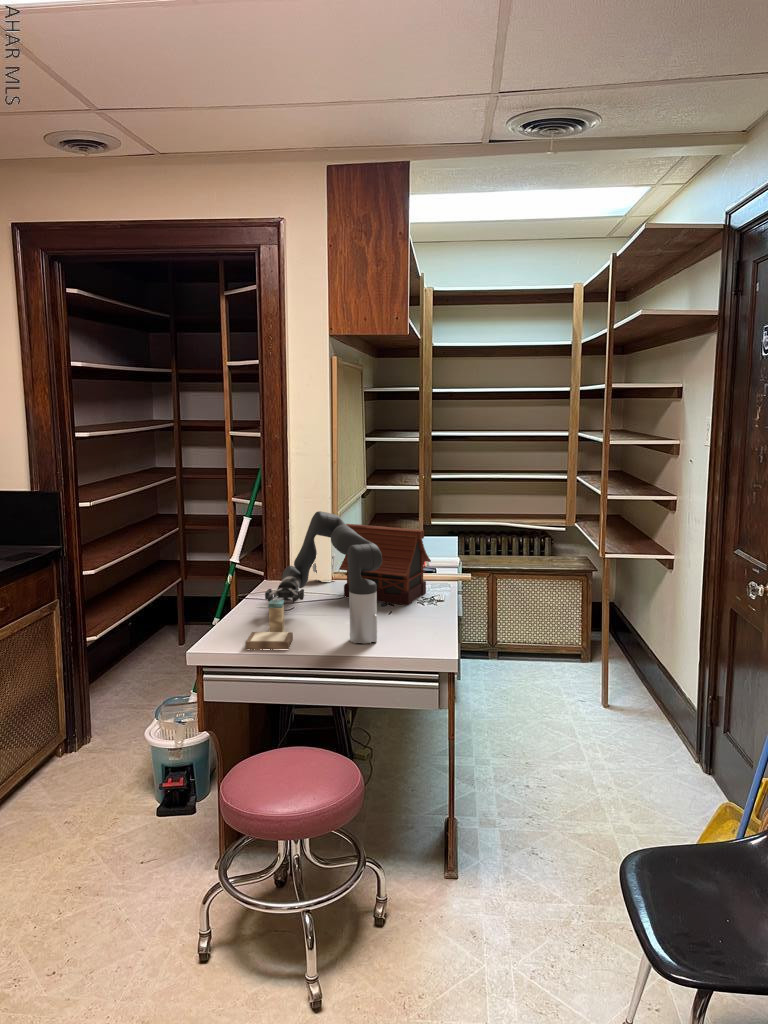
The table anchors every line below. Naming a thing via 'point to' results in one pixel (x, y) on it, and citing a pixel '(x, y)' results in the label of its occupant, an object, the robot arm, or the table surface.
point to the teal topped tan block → (276, 616)
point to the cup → (332, 565)
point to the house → (394, 563)
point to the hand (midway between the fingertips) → (281, 600)
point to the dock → (269, 640)
